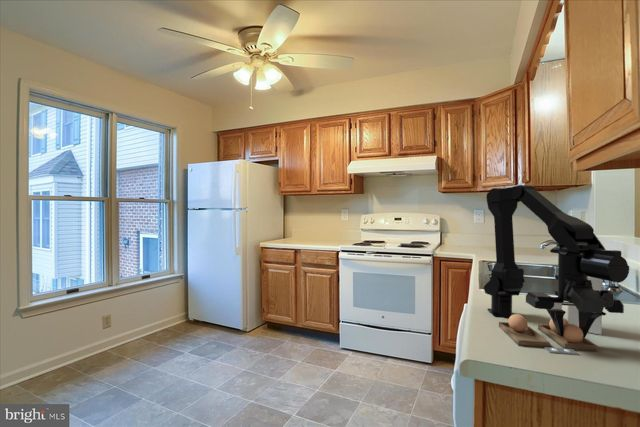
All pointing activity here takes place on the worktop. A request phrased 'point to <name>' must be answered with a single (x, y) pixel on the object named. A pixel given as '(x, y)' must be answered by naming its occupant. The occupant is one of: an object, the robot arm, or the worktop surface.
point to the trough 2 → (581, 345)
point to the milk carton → (574, 316)
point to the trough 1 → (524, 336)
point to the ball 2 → (554, 325)
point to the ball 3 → (572, 333)
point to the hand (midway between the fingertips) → (571, 336)
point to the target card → (561, 350)
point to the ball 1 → (517, 322)
